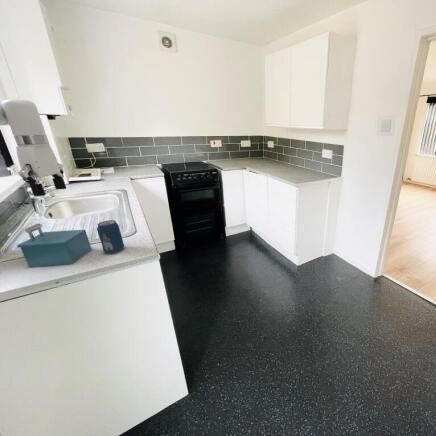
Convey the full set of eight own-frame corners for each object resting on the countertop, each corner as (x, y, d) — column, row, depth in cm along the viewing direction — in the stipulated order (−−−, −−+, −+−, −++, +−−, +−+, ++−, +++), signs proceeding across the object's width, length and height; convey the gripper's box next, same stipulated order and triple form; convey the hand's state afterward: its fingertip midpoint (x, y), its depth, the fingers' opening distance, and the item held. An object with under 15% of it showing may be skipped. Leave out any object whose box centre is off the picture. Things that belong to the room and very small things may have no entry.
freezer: (29, 267, 87) (20, 247, 84) (54, 251, 98) (46, 233, 95) (71, 264, 89) (64, 244, 86) (91, 249, 100) (85, 231, 97)
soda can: (123, 245, 103) (115, 218, 99) (126, 250, 98) (118, 222, 94) (103, 250, 99) (94, 222, 94) (105, 256, 94) (96, 227, 90)
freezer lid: (17, 247, 84) (10, 232, 82) (44, 233, 95) (39, 220, 93) (64, 244, 86) (59, 229, 84) (85, 231, 97) (81, 218, 95)
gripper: (41, 140, 88) (57, 187, 94) (-7, 143, 72) (17, 199, 77) (64, 140, 89) (79, 186, 95) (22, 142, 73) (43, 198, 78)
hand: (51, 192), depth 86 cm, fingers open, 9 cm apart
